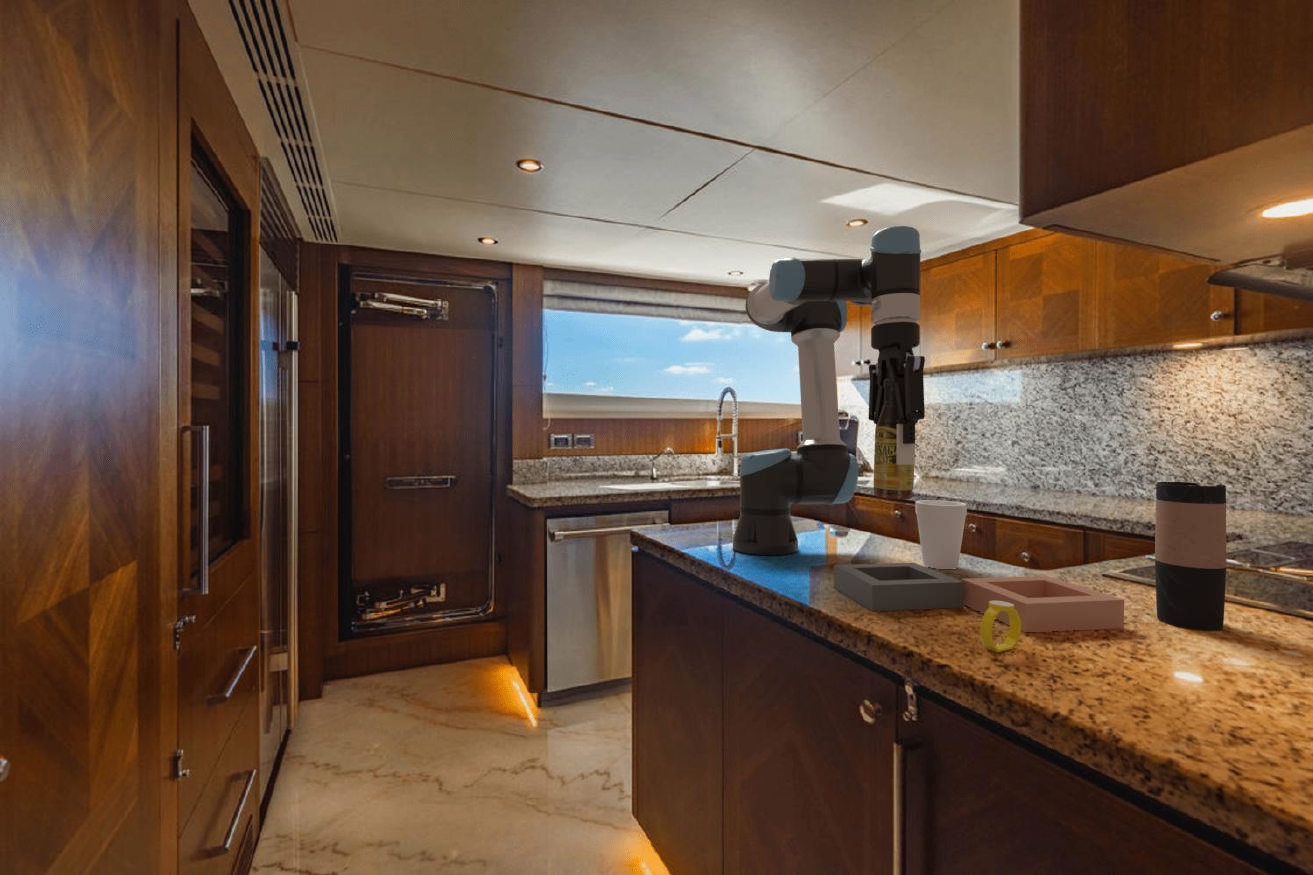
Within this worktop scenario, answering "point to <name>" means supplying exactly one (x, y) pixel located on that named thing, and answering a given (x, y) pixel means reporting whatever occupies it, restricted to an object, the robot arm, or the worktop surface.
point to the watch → (989, 620)
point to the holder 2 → (1046, 603)
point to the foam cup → (941, 532)
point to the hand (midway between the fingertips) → (894, 463)
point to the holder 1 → (898, 586)
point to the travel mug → (1190, 555)
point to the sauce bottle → (890, 453)
